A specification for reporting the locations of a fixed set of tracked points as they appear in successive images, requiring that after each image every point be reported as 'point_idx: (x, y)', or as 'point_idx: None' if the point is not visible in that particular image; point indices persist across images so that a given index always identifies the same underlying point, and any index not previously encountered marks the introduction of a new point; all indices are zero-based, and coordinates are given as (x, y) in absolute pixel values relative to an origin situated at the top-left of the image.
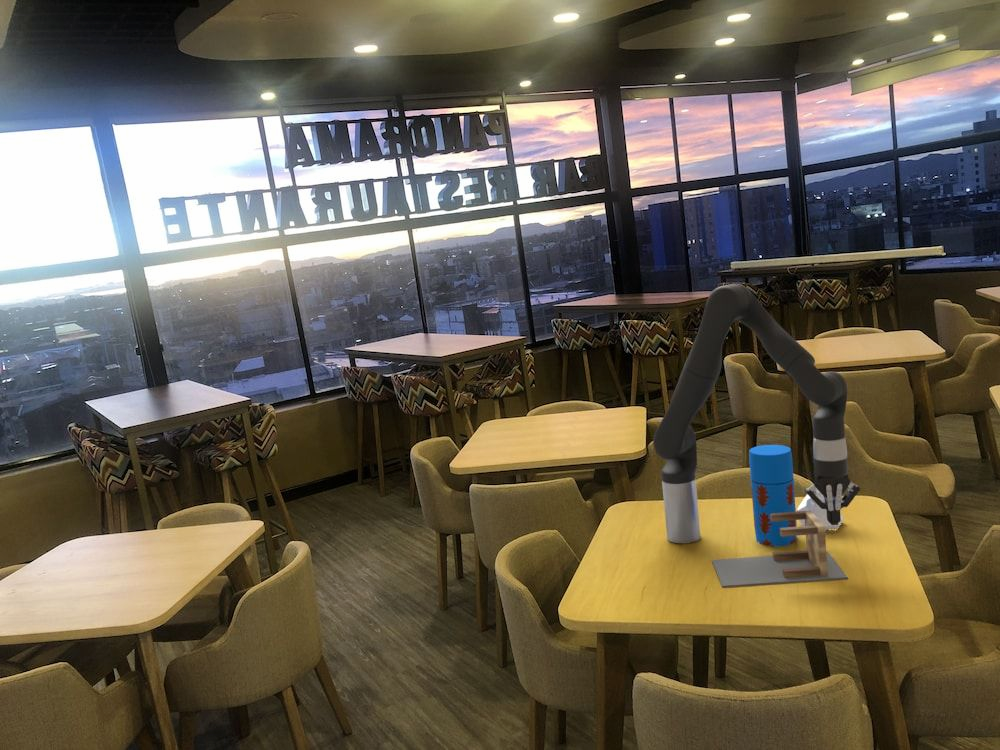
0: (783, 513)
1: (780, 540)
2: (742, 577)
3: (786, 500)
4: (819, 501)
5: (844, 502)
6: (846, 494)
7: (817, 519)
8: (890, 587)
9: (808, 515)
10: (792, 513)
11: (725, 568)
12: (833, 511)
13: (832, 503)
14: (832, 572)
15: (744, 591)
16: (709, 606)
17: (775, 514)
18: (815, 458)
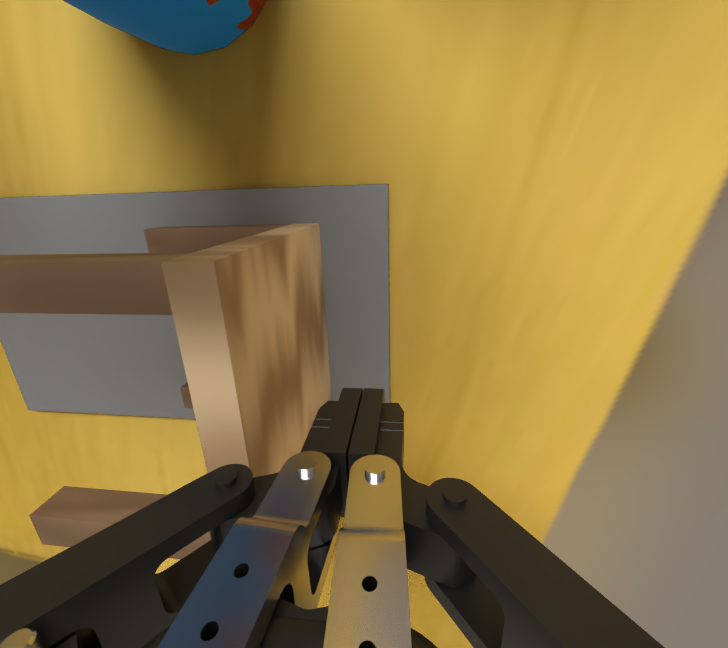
0: (11, 285)
1: (180, 44)
2: (73, 368)
3: None
4: (181, 608)
5: (441, 604)
6: (513, 630)
7: (241, 458)
8: (491, 500)
9: (189, 373)
10: (76, 300)
11: None
12: (341, 514)
13: (318, 591)
14: (351, 387)
15: (94, 440)
16: (26, 493)
17: None
18: None
